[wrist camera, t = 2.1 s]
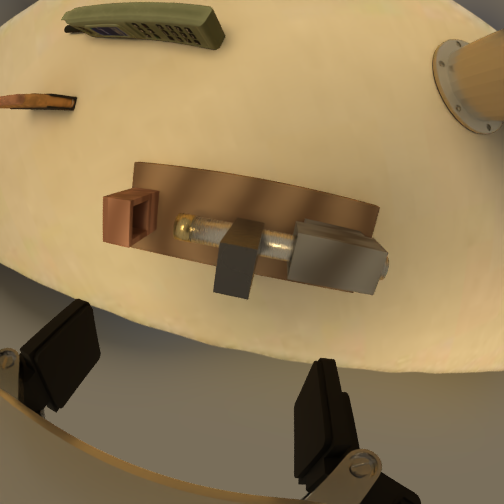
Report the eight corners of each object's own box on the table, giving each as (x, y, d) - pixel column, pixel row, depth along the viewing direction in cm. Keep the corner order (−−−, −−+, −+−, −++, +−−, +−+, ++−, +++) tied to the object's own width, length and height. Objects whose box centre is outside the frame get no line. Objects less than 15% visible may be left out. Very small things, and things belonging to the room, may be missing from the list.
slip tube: (384, 245, 24) (421, 282, 16) (373, 278, 25) (402, 325, 18) (184, 204, 25) (143, 227, 17) (181, 240, 26) (142, 275, 18)
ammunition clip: (77, 97, 25) (9, 89, 14) (74, 110, 26) (5, 107, 15) (35, 98, 25) (-24, 96, 14) (32, 109, 26) (-27, 110, 15)
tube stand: (376, 205, 26) (403, 221, 20) (351, 288, 30) (367, 323, 23) (138, 161, 28) (101, 166, 21) (133, 244, 31) (101, 266, 24)
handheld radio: (216, 54, 23) (67, 41, 22) (228, 32, 22) (76, 22, 21) (200, 28, 17) (38, 30, 16) (216, 2, 16) (49, 9, 15)
